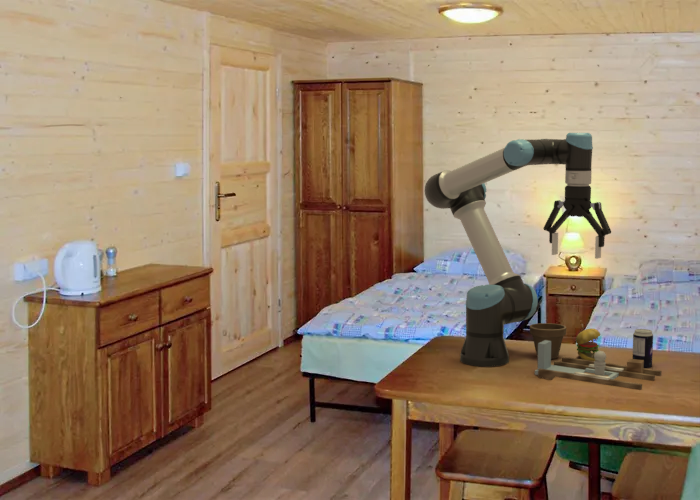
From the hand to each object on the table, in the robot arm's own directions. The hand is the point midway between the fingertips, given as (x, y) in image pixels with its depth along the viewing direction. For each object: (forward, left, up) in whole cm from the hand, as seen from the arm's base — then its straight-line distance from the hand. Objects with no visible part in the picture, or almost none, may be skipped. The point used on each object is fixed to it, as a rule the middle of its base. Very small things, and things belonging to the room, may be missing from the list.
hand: (575, 256), depth 271 cm
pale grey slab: (+5, -10, -34) cm, 36 cm away
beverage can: (+18, +9, -34) cm, 40 cm away
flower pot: (-12, +8, -35) cm, 38 cm away
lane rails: (+11, -8, -34) cm, 37 cm away
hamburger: (+1, +9, -34) cm, 36 cm away
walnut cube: (+19, -2, -33) cm, 38 cm away
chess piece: (+12, -10, -35) cm, 38 cm away
